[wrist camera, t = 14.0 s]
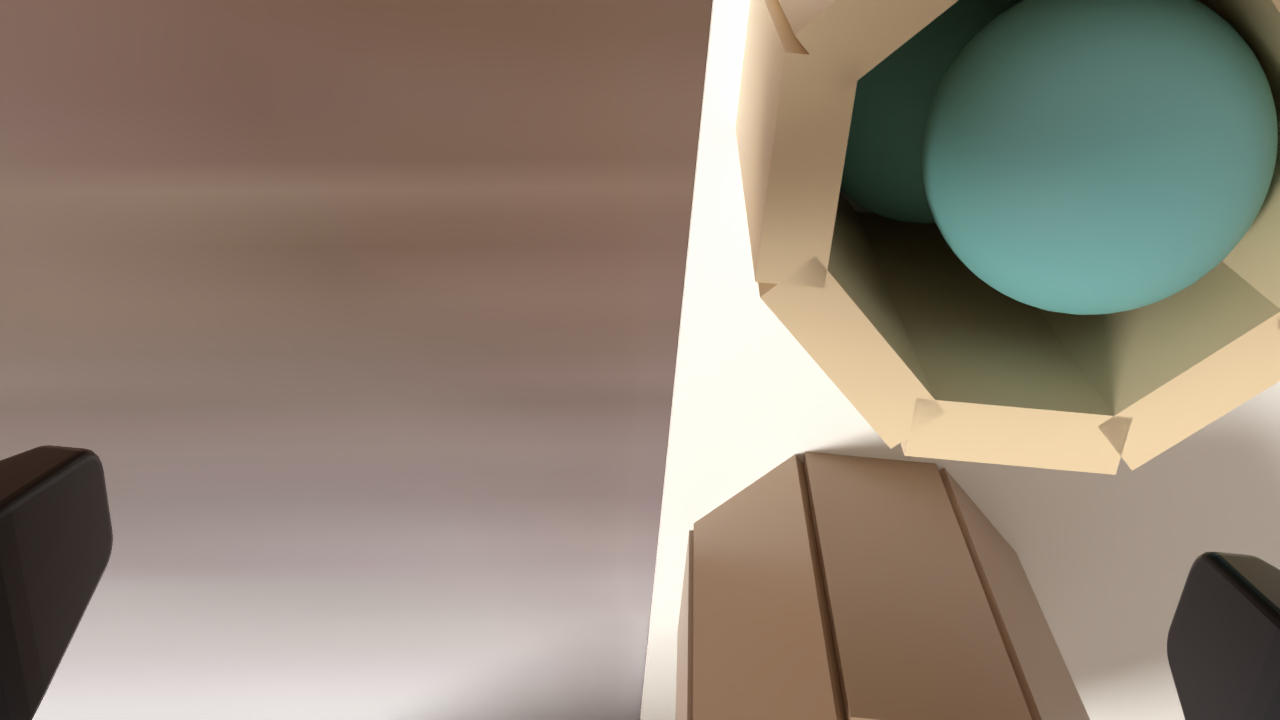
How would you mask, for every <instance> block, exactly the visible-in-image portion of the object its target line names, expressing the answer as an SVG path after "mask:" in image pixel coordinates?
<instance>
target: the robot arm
mask: <svg viewBox="0 0 1280 720" xmlns="http://www.w3.org/2000/svg"><path fill="white" fill-rule="evenodd" d="M112 542H113V535H112V526H111V519H110V512H109V505H108V499H107V492H106V485H105V478H104V471H103V467H102V463H101V461H100V459H99V457H98V456H97V455H96V454H95V453H94V452H93V451H91V450H88V449H82V448H72V447H61V446H50V445H49V446H40V447H37V448H34V449H31V450H29V451H26V452H23V453H20V454H18V455H15V456H12V457H9V458H6V459H4V460H1V461H0V720H32V718H33V716H34V715H35V713H36V711H37V709H38V707H39V705H40V703H41V701H42V699H43V697H44V695H45V693H46V691H47V689H48V687H49V685H50V683H51V681H52V679H53V677H54V675H55V673H56V671H57V669H58V666H59V664H60V662H61V660H62V658H63V656H64V654H65V652H66V650H67V648H68V646H69V644H70V642H71V639H72V637H73V635H74V633H75V631H76V629H77V627H78V625H79V623H80V621H81V619H82V617H83V615H84V612H85V610H86V608H87V606H88V604H89V602H90V600H91V598H92V596H93V594H94V592H95V590H96V588H97V585H98V583H99V581H100V579H101V577H102V575H103V573H104V571H105V569H106V567H107V564H108V562H109V558H110V555H111V550H112ZM1167 656H1168V662H1169V666H1170V669H1171V673H1172V676H1173V680H1174V683H1175V686H1176V690H1177V693H1178V697H1179V700H1180V704H1181V707H1182V711H1183V714H1184V717H1185V720H1280V569H1278V568H1276V567H1275V566H1273V565H1271V564H1269V563H1267V562H1266V561H1264V560H1262V559H1260V558H1258V557H1256V556H1252V555H1248V554H1236V553H1225V552H1205V553H1203V554H1201V555H1200V556H1198V557H1197V558H1196V560H1195V561H1194V562H1193V564H1192V566H1191V568H1190V571H1189V574H1188V577H1187V580H1186V582H1185V585H1184V588H1183V591H1182V594H1181V597H1180V600H1179V603H1178V605H1177V608H1176V611H1175V614H1174V617H1173V620H1172V623H1171V626H1170V629H1169V633H1168V638H1167Z"/></svg>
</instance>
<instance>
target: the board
mask: <svg viewBox="0 0 1280 720" xmlns="http://www.w3.org/2000/svg"><path fill="white" fill-rule="evenodd" d="M957 1H958V0H713V4H712V14H711V24H710V34H709V43H708V53H707V63H706V73H705V83H704V93H703V103H702V112H701V122H700V132H699V142H698V152H697V162H696V172H695V181H694V191H693V201H692V211H691V221H690V231H689V241H688V250H687V260H686V270H685V280H684V290H683V300H682V310H681V319H680V329H679V339H678V349H677V359H676V369H675V379H674V388H673V398H672V408H671V418H670V428H669V438H668V448H667V457H666V467H665V477H664V487H663V497H662V507H661V517H660V526H659V536H658V546H657V556H656V566H655V576H654V586H653V595H652V605H651V615H650V625H649V635H648V645H647V655H646V664H645V674H644V684H643V694H642V704H641V714H640V720H1185V717H1184V714H1183V711H1182V707H1181V704H1180V700H1179V697H1178V693H1177V690H1176V686H1175V683H1174V680H1173V676H1172V673H1171V669H1170V666H1169V662H1168V656H1167V638H1168V633H1169V629H1170V626H1171V623H1172V620H1173V617H1174V614H1175V611H1176V608H1177V605H1178V603H1179V600H1180V597H1181V594H1182V591H1183V588H1184V585H1185V582H1186V580H1187V577H1188V574H1189V571H1190V568H1191V566H1192V564H1193V562H1194V561H1195V560H1196V558H1197V557H1198V556H1200V555H1201V554H1203V553H1205V552H1225V553H1236V554H1248V555H1252V556H1256V557H1258V558H1260V559H1262V560H1264V561H1266V562H1267V563H1269V564H1271V565H1273V566H1275V567H1276V568H1278V569H1280V0H1197V1H1199V2H1201V3H1203V4H1204V5H1206V6H1208V7H1209V8H1210V9H1212V10H1213V11H1215V12H1216V13H1217V14H1218V15H1220V16H1221V17H1222V18H1223V19H1224V20H1226V21H1227V22H1228V23H1229V24H1231V25H1232V27H1233V28H1234V29H1235V30H1236V31H1237V32H1238V33H1239V34H1240V36H1241V37H1242V38H1243V39H1244V40H1245V42H1246V43H1247V44H1248V45H1249V46H1250V48H1251V49H1252V51H1253V53H1254V54H1255V56H1256V58H1257V59H1258V61H1259V63H1260V65H1261V67H1262V69H1263V71H1264V73H1265V75H1266V77H1267V80H1268V82H1269V85H1270V89H1271V93H1272V96H1273V100H1274V104H1275V108H1276V115H1277V132H1278V145H1277V157H1276V163H1275V168H1274V173H1273V177H1272V180H1271V184H1270V187H1269V190H1268V192H1267V195H1266V198H1265V200H1264V202H1263V205H1262V207H1261V209H1260V211H1259V213H1258V215H1257V216H1256V218H1255V220H1254V222H1253V223H1252V225H1251V226H1250V228H1249V230H1248V231H1247V232H1246V234H1245V235H1244V236H1243V238H1242V239H1241V240H1240V241H1239V243H1238V244H1237V245H1236V246H1235V247H1234V249H1233V250H1232V251H1231V252H1230V253H1229V254H1228V255H1227V257H1226V258H1225V259H1224V260H1222V261H1221V262H1220V263H1219V264H1218V265H1217V266H1216V267H1215V268H1213V269H1212V270H1211V271H1209V272H1208V273H1207V274H1206V275H1204V276H1203V277H1202V278H1200V279H1199V280H1198V281H1196V282H1195V283H1193V284H1192V285H1190V286H1188V287H1187V288H1185V289H1183V290H1181V291H1179V292H1177V293H1176V294H1174V295H1172V296H1170V297H1168V298H1165V299H1163V300H1161V301H1158V302H1155V303H1152V304H1149V305H1146V306H1143V307H1140V308H1136V309H1133V310H1129V311H1123V312H1117V313H1111V314H1099V315H1076V314H1067V313H1060V312H1053V311H1047V310H1043V309H1040V308H1037V307H1033V306H1030V305H1027V304H1024V303H1021V302H1019V301H1017V300H1014V299H1012V298H1010V297H1008V296H1006V295H1004V294H1002V293H1001V292H999V291H997V290H996V289H994V288H992V287H991V286H989V285H988V284H987V283H985V282H984V281H982V280H981V279H980V278H978V277H977V276H976V275H975V274H974V273H973V272H972V271H971V270H970V269H968V268H967V267H966V265H965V264H964V263H963V262H962V261H961V260H960V259H959V258H958V257H957V256H956V255H955V253H954V252H953V251H952V249H951V248H950V247H949V245H948V244H947V242H946V240H945V239H944V237H943V236H942V234H941V232H940V230H939V228H938V227H937V225H936V223H927V224H924V223H910V222H904V221H899V220H894V219H890V218H887V217H884V216H881V215H878V214H876V213H874V212H872V211H870V210H868V209H865V208H863V207H862V206H860V205H859V204H857V203H856V202H854V201H852V200H851V199H849V198H848V197H847V196H846V195H845V194H844V193H842V192H841V191H840V187H841V181H842V174H843V168H844V162H845V156H846V149H847V143H848V137H849V130H850V124H851V118H852V111H853V105H854V99H855V93H856V86H857V81H858V80H859V79H860V78H861V77H863V76H864V75H865V74H866V73H868V72H869V71H870V70H871V69H873V68H874V67H875V66H877V65H878V64H879V63H880V62H882V61H883V60H884V59H885V58H887V57H888V56H889V55H890V54H892V53H893V52H894V51H895V50H897V49H898V48H899V47H900V46H902V45H903V44H904V43H905V42H907V41H908V40H909V39H911V38H912V37H913V36H914V35H916V34H917V33H918V32H919V31H921V30H922V29H923V28H924V27H926V26H927V25H928V24H929V23H931V22H932V21H933V20H934V19H936V18H937V17H938V16H940V15H941V14H942V13H943V12H945V11H946V10H947V9H948V8H950V7H951V6H952V5H953V4H955V3H956V2H957Z"/></svg>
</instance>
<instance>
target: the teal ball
mask: <svg viewBox="0 0 1280 720" xmlns="http://www.w3.org/2000/svg"><path fill="white" fill-rule="evenodd" d="M1277 145H1278V132H1277V115H1276V108H1275V104H1274V100H1273V96H1272V93H1271V89H1270V85H1269V82H1268V80H1267V77H1266V75H1265V73H1264V71H1263V69H1262V67H1261V65H1260V63H1259V61H1258V59H1257V58H1256V56H1255V54H1254V53H1253V51H1252V49H1251V48H1250V46H1249V45H1248V44H1247V43H1246V42H1245V40H1244V39H1243V38H1242V37H1241V36H1240V34H1239V33H1238V32H1237V31H1236V30H1235V29H1234V28H1233V27H1232V25H1231V24H1229V23H1228V22H1227V21H1226V20H1224V19H1223V18H1222V17H1221V16H1220V15H1218V14H1217V13H1216V12H1215V11H1213V10H1212V9H1210V8H1209V7H1208V6H1206V5H1204V4H1203V3H1201V2H1199V1H1197V0H1023V1H1022V2H1020V3H1018V4H1016V5H1014V6H1012V7H1011V8H1009V9H1008V10H1006V11H1004V12H1003V13H1001V14H1000V15H998V16H997V17H996V18H995V19H994V20H992V21H991V22H990V23H989V24H987V25H986V26H985V27H984V28H983V29H981V30H980V31H979V32H978V33H977V34H976V35H975V36H974V37H973V38H972V39H971V40H970V41H969V42H968V43H967V44H966V45H965V47H964V48H963V49H962V50H961V52H960V53H959V54H958V56H957V57H956V58H955V60H954V61H953V62H952V64H951V65H950V67H949V68H948V70H947V71H946V73H945V75H944V76H943V78H942V80H941V82H940V84H939V86H938V88H937V90H936V92H935V95H934V97H933V100H932V102H931V105H930V108H929V112H928V115H927V118H926V123H925V128H924V133H923V141H922V172H923V182H924V188H925V193H926V198H927V201H928V204H929V207H930V210H931V212H932V215H933V217H934V220H935V223H936V225H937V227H938V228H939V230H940V232H941V234H942V236H943V237H944V239H945V240H946V242H947V244H948V245H949V247H950V248H951V249H952V251H953V252H954V253H955V255H956V256H957V257H958V258H959V259H960V260H961V261H962V262H963V263H964V264H965V265H966V267H967V268H968V269H970V270H971V271H972V272H973V273H974V274H975V275H976V276H977V277H978V278H980V279H981V280H982V281H984V282H985V283H987V284H988V285H989V286H991V287H992V288H994V289H996V290H997V291H999V292H1001V293H1002V294H1004V295H1006V296H1008V297H1010V298H1012V299H1014V300H1017V301H1019V302H1021V303H1024V304H1027V305H1030V306H1033V307H1037V308H1040V309H1043V310H1047V311H1053V312H1060V313H1067V314H1076V315H1099V314H1111V313H1117V312H1123V311H1129V310H1133V309H1136V308H1140V307H1143V306H1146V305H1149V304H1152V303H1155V302H1158V301H1161V300H1163V299H1165V298H1168V297H1170V296H1172V295H1174V294H1176V293H1177V292H1179V291H1181V290H1183V289H1185V288H1187V287H1188V286H1190V285H1192V284H1193V283H1195V282H1196V281H1198V280H1199V279H1200V278H1202V277H1203V276H1204V275H1206V274H1207V273H1208V272H1209V271H1211V270H1212V269H1213V268H1215V267H1216V266H1217V265H1218V264H1219V263H1220V262H1221V261H1222V260H1224V259H1225V258H1226V257H1227V255H1228V254H1229V253H1230V252H1231V251H1232V250H1233V249H1234V247H1235V246H1236V245H1237V244H1238V243H1239V241H1240V240H1241V239H1242V238H1243V236H1244V235H1245V234H1246V232H1247V231H1248V230H1249V228H1250V226H1251V225H1252V223H1253V222H1254V220H1255V218H1256V216H1257V215H1258V213H1259V211H1260V209H1261V207H1262V205H1263V202H1264V200H1265V198H1266V195H1267V192H1268V190H1269V187H1270V184H1271V180H1272V177H1273V173H1274V168H1275V163H1276V157H1277Z"/></svg>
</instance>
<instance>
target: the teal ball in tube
mask: <svg viewBox="0 0 1280 720" xmlns="http://www.w3.org/2000/svg"><path fill="white" fill-rule="evenodd" d="M1022 1H1023V0H958V1H957V2H956V3H955V4H953V5H952V6H951V7H950V8H948V9H947V10H946V11H945V12H943V13H942V14H941V15H940V16H938V17H937V18H936V19H934V20H933V21H932V22H931V23H929V24H928V25H927V26H926V27H924V28H923V29H922V30H921V31H919V32H918V33H917V34H916V35H914V36H913V37H912V38H911V39H909V40H908V41H907V42H905V43H904V44H903V45H902V46H900V47H899V48H898V49H897V50H895V51H894V52H893V53H892V54H890V55H889V56H888V57H887V58H885V59H884V60H883V61H882V62H880V63H879V64H878V65H877V66H875V67H874V68H873V69H871V70H870V71H869V72H868V73H866V74H865V75H864V76H863V77H861V78H860V79H859V80H858V81H857V86H856V93H855V99H854V105H853V111H852V118H851V124H850V130H849V137H848V143H847V149H846V156H845V162H844V168H843V174H842V181H841V187H840V191H841V192H842V193H844V194H845V195H846V196H847V197H848V198H849V199H851V200H852V201H854V202H856V203H857V204H859V205H860V206H862V207H863V208H865V209H868V210H870V211H872V212H874V213H876V214H878V215H881V216H884V217H887V218H890V219H894V220H899V221H904V222H910V223H924V224H927V223H935V220H934V217H933V215H932V212H931V210H930V207H929V204H928V201H927V198H926V193H925V188H924V182H923V172H922V141H923V133H924V128H925V123H926V118H927V115H928V112H929V108H930V105H931V102H932V100H933V97H934V95H935V92H936V90H937V88H938V86H939V84H940V82H941V80H942V78H943V76H944V75H945V73H946V71H947V70H948V68H949V67H950V65H951V64H952V62H953V61H954V60H955V58H956V57H957V56H958V54H959V53H960V52H961V50H962V49H963V48H964V47H965V45H966V44H967V43H968V42H969V41H970V40H971V39H972V38H973V37H974V36H975V35H976V34H977V33H978V32H979V31H980V30H981V29H983V28H984V27H985V26H986V25H987V24H989V23H990V22H991V21H992V20H994V19H995V18H996V17H997V16H998V15H1000V14H1001V13H1003V12H1004V11H1006V10H1008V9H1009V8H1011V7H1012V6H1014V5H1016V4H1018V3H1020V2H1022Z"/></svg>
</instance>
